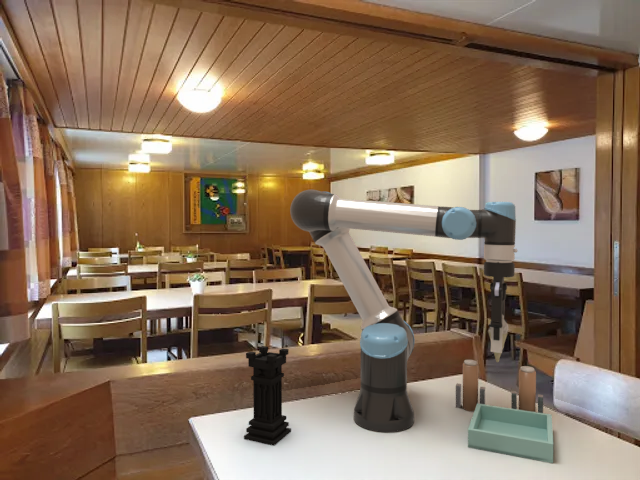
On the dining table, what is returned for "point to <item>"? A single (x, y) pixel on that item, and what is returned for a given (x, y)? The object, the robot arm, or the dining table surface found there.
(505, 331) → the ice cream cone
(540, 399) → the clip row
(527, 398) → the cylinder
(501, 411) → the tray
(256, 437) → the chess piece
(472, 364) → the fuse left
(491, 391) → the dining table surface
